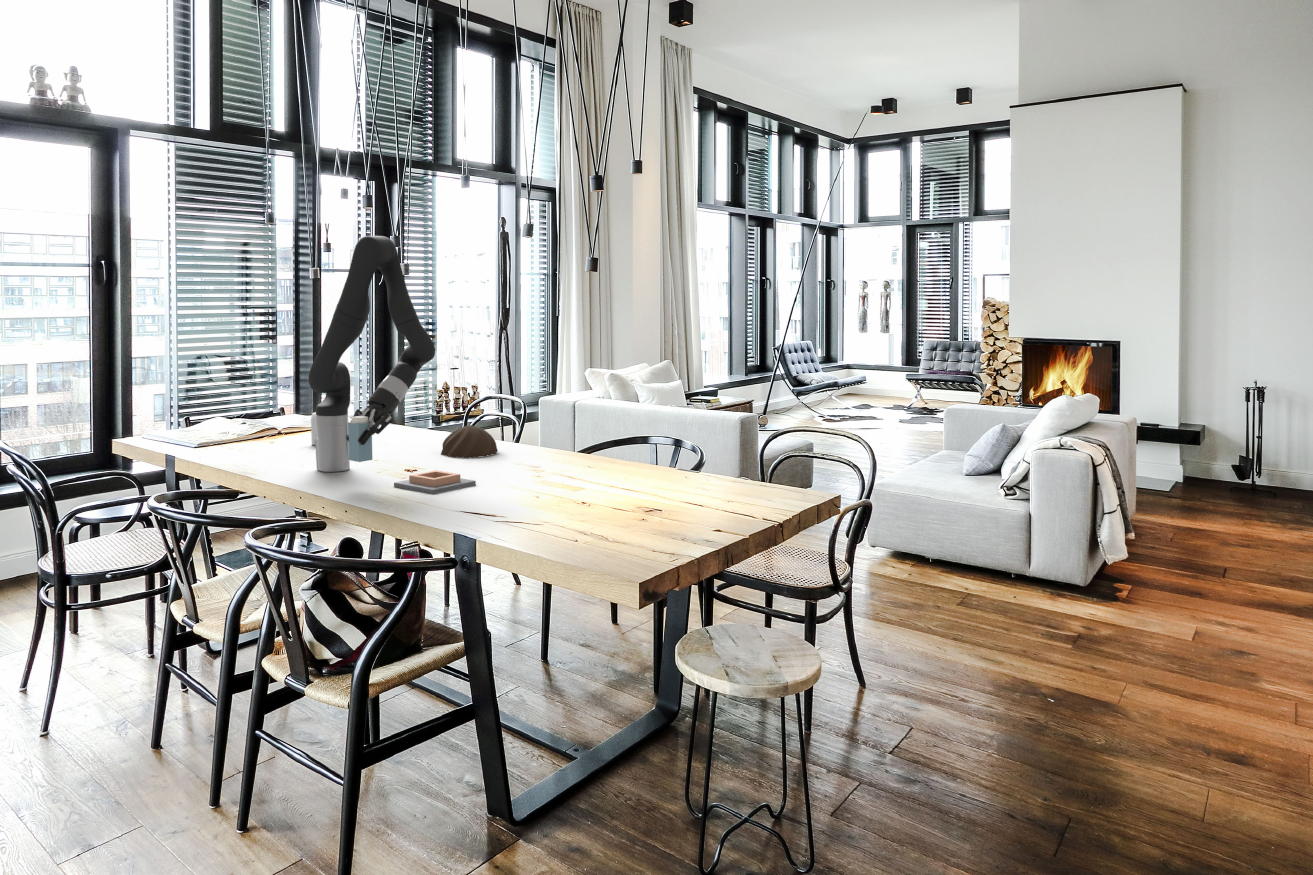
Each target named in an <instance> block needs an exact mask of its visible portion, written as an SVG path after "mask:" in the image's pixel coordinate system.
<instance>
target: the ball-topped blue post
mask: <svg viewBox="0 0 1313 875" xmlns="http://www.w3.org/2000/svg"><path fill="white" fill-rule="evenodd" d="M368 425H369V423H368V417H366V416H355V417H353V416H351V419H350V422H348V437H349V461H351V462H356V463H357V462H358V463H362V462H368V461H369V462H370V461H373V435H371V437H370V438H369V439H368V441H367V442H366V443H365V444H364V445H361V444H360V443H359V442H358V439H359V437H360V436H361V435H362V433H363V432H364V431H365V430H366V428H367V426H368Z"/></svg>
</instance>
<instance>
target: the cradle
mask: <svg viewBox="0 0 1313 875" xmlns="http://www.w3.org/2000/svg"><path fill="white" fill-rule="evenodd" d="M408 477H409V478H408V479H406V480H400V481H396V482H393V487H394V488H398V489H403V488H404V490H408V489H409V491H415V492H420V493H427V494H430V495H435V494H439V493H444V492H449V491H454V490H459V489H463V488H467V487H472V486H476V484H477V483H476V480H474V479H473V480H472V479H466V478H461V474H460V473H453V472H448V471H442V470H437V469H436V470H431V471H425V472H420V473H415V474H410V475H408Z"/></svg>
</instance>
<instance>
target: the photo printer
mask: <svg viewBox="0 0 1313 875" xmlns="http://www.w3.org/2000/svg"><path fill="white" fill-rule="evenodd" d="M310 425H311V426H310V428H311V445H312V446H316V442H315V440H316V439H317V424H316V411H315V412H312V413H311V418H310Z"/></svg>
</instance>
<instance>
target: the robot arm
mask: <svg viewBox="0 0 1313 875" xmlns="http://www.w3.org/2000/svg"><path fill="white" fill-rule="evenodd" d="M399 257H400V256H399V254H398V250H397V247H396V245H395V243H394V241H392V239H391V238H389V237H387V236H384V235H366V236H363V237H361V238H360V239H359V240H358V241H357V243H356V244H355V246H354V249H353V254H352V257H351V262H350V265H349V270H348V273H347V277H346V280H345V283H344V285H343V288H342V291H341V295H340V298H339V299H338V301H337V304H336V307H335V310H334V313H333V315H332V317H331V318H332V319H331V321H330V325H329V328H328V329H327V332H326V334H325V337H324V339H323V342H322V344H321V346H320V349H319V351H318V353H317V355H316V357H315V358H314V361H313V362H312V364H311V367H310V370H309V372H308V378H307V379H308V384H309V387H310V388H311V390H312V391H313V392H315V393H317V394H325V396H324V399H323V400H322V401H321V402H320V403H318V404H317V405H316V407H315V412H316V424H317V439H316V440H315V442H316V445H315V460H316V464H315V465H316V470H318V471H319V472H323V473H325V472H326V473H329V472H331V473H332V472H333V473H335V472H338V473H339V472H344V471H348V470H350V469H351V467H350V466H351V464H350V463H351V462H350V461H351V460H349V437H348V423H349V408H350V405H351V375H350V370H349V368H348V367H347V365H345V363H343V362H341V361H340V360H341V357H342V356H343V354H344V353H345V351H347V350H348V348H350V346H351V345H353V344H354V343H355V341H357V339H358V338H359V337H360V335H362V332H363V330H364V328H365V325H366V324H367V320H368V319H369V318H368V317H369V315H370V311H371V310H370V309H371V307H370V305H371V304H370V294H369V293H370V292H369V291H370V285H371V282H372V280H373V277H374V275H375V273H376V271H377V269H378V270H379V272H381V274H382V277H383V279H384V282H385V285H386V291H387V292H386V293H387V306H388V311H389V314H390V315H389V316H390V317H391V320H392V322H393V325H394V326H395V329H396V331H397V333H398V334H399V335H400V336H401V337H404V338H406V340H407V342H408V346H406V347H405V349H404V351H403V352H402V353H401V355H400V356H399V358H398V360H397V362H396V364H395V365H394V366H393V367H392V369H391V370H390V371H389V373H388V375H386V377H385V378H384V379H383V380H382V381H381V382H380V383H379V384H378V386H377V388H376V389H375V390H374V392H373V393H372V394H371V396H370V397H368V398H369V399H368V406H367V407H365V408H364V410H360V409H359V408H357V409H356V410H355V412H354V414H353V416H352V417H355V416H366V417H368V423H369V425H368V426H367V428H366V430H365V431H364V432H363V433H362V435H361V436H360V437H359V439H358V442H359V443H360V444H361V445H364V444H365V443H366V442H367V441H368V439H369V438H370V437H371V435H372V436H374V435H375V434H377V435H379V434H381V433H382V432H383V430H384V429H386V428H387V427H388V426H389V425H390V424H391V423H392V422H393V420H394V419H393V418H392V416H391V415H393V414H394V413H395V411H396V410H397V408H398V407H399V405H400V404H401V402H402V401H403V399H404V398H405V397H406V395H407V393H408V391H409V389H410V388H411V387H412V386H413V384H414V383H415V381H416V380H417V376H418V373H419V372H420V370H421V369H422V367H424V365H426V364H427V363H429V362H431V361H432V360H433V359H434V358H435V355H436V348H435V343H434V342H433V340H432V338H431V336H430V335H429V334H428V332H427V330H426V329H425V328H424V327H423V325H422V324H421V322H420V319H419V316H418V314H417V312H416V309H415V307H414V305H413V303H412V299H411V298H410V294H409V291H408V287H407V284H406V281H405V276H404V273H403V269H402V266H401V262H400V258H399Z"/></svg>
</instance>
